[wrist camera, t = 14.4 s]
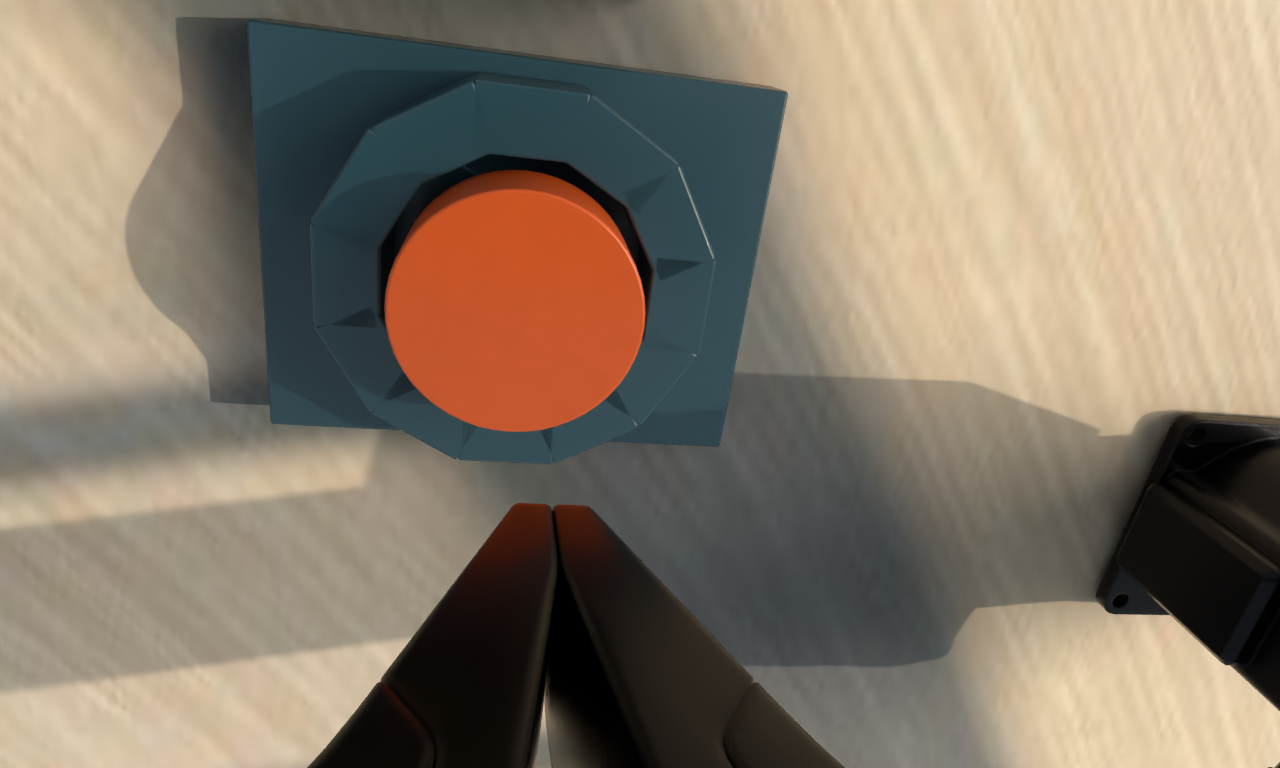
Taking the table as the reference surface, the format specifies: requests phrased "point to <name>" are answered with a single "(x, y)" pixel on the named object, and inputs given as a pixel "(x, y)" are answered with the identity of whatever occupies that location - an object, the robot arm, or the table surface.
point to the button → (514, 302)
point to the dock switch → (480, 143)
